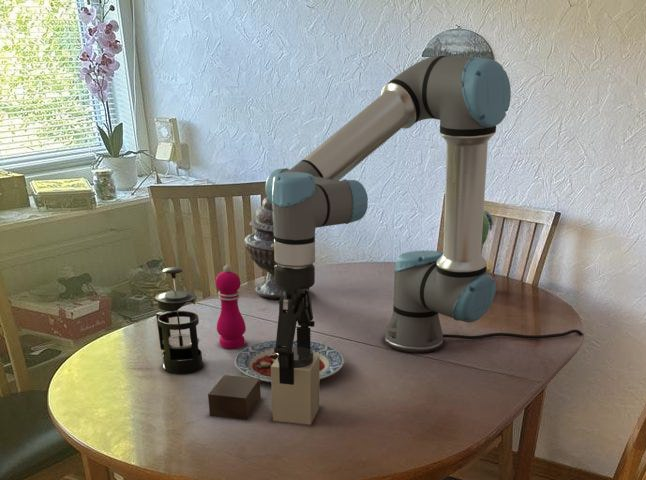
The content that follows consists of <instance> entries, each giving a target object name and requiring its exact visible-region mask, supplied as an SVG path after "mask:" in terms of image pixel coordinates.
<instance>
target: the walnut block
mask: <svg viewBox="0 0 646 480" xmlns="http://www.w3.org/2000/svg"><path fill="white" fill-rule="evenodd" d="M261 393H262V391H261V380H260V378H252V377H249V376H240V375H232V374H231V375H229V374H224V375H223V376H221V378H220V379H219V380H218V382H217V383H216V384H215V385H214V386H213V387H212V389H211V390H210V391H209V392H208V394H207V401H208V412H209V417H215V418H216V417H217V418H225V419H233V420H234V419H235V420H242V421H247V420H248V419H249V418H250V416H252V413H253V412H254V411H255V410H256V407H258V404H259V403H260V402H261V400H262V394H261Z"/></svg>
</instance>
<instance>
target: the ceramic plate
mask: <svg viewBox="0 0 646 480" xmlns="http://www.w3.org/2000/svg"><path fill="white" fill-rule="evenodd" d="M283 347H285V346H283ZM293 347H297V339H294V342H293ZM274 348H276V339H275V340H269V341H263V342H260V343H256V344H253V345H250V346H248V347H245V348H243V349H242V350H241V351H239V352H238V353H237V354H236V355H235V358H234V365H235V367H236V369H237V370H238V371H239V372H240V373H242V374H243V375H245V376H246V377H250V378H260V382H261V381H262V382H267V383H271V366H272V364H273V363H274V361H275V360H276V359H277V353H276V352H274ZM310 350H312V351H313V355H319V381H320V380H323V379H326V378H328V377H331V376H333V375H335V374H336V373H338V372H339V371H340V370H342V368H343V366H344V364H345V363H344V362H345V358H344V356H343V354H342V353H341V352H340V351H339V350H338V349H336V348H334V347H332V346H330V345H327V344H324V343H321V342H317V341H311V340H310Z"/></svg>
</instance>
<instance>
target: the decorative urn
mask: <svg viewBox="0 0 646 480" xmlns="http://www.w3.org/2000/svg"><path fill="white" fill-rule="evenodd" d="M261 203H262V205H261V206H260V207H258V208H257V210H255V211H256V212H255V218H252V219H251V220H250V221H249V225H250V226H251V227H253V228H254V232H252V233H249V234H248V235H247V236H245V237H244V245H245V249H246V250H247V252H248V254H249V256H250V258H251V259H252V261H253V262H254V263H255V264H256V265H257V267H258V268H260V269H261V270H264V271H266V272H267V274H266V278H265V281H264V282H260V283H259V284H258V285H257V286H256V287H255V289H254V290H255V292H256V293H257V294H258V295H259V296H261V297H263V298H267V299H271V300H277V299H280V298H281V299H282V298H283V295H284V296H285V290H284V289H283V288H282V287H279V286H277V285H276V284H275V273H274V266H275V265H276V262H275V260H274V249H272V248H271V245H272V244H274V229H273V205H272V204H271V203H270V201H269V200H268V198H267V196H265V198H264V199H263V200H262V201H261Z"/></svg>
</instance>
